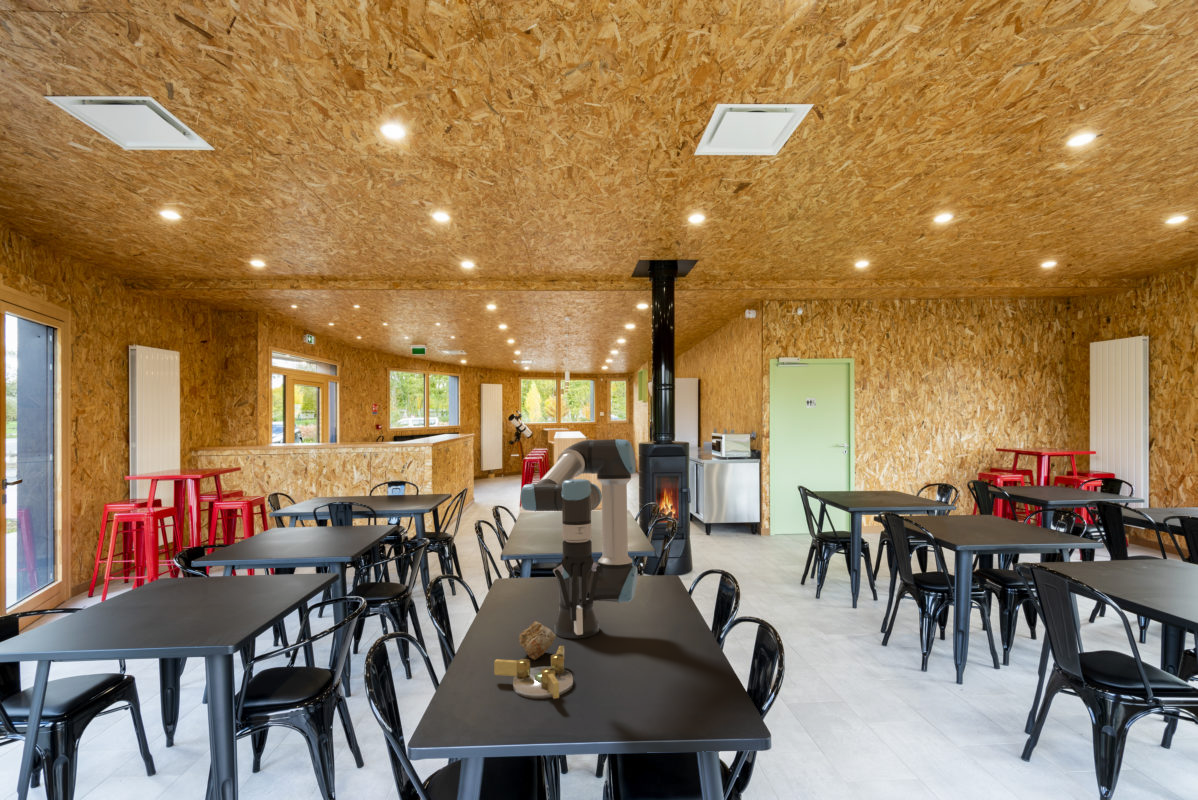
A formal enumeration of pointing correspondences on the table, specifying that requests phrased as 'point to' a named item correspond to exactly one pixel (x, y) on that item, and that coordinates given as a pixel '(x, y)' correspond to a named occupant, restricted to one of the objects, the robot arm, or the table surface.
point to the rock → (536, 640)
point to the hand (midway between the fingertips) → (578, 632)
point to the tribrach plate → (533, 684)
